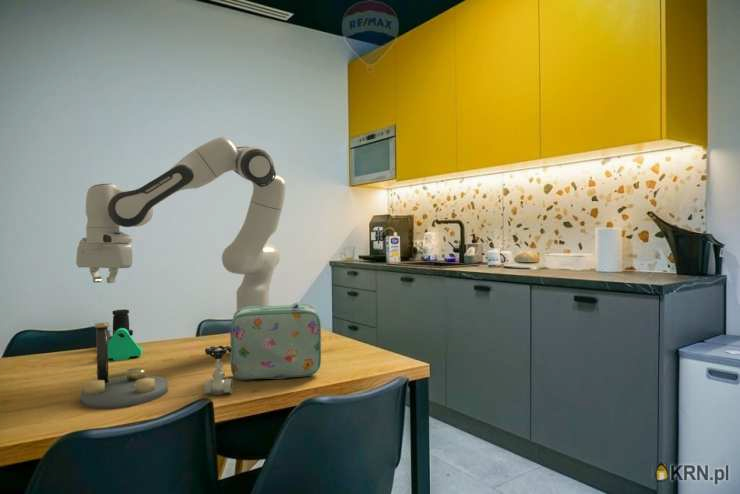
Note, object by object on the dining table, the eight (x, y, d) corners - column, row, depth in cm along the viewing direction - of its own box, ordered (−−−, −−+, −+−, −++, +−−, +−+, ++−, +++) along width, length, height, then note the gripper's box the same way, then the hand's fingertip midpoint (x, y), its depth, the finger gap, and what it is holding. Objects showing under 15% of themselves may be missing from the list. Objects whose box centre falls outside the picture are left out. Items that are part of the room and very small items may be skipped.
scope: (106, 313, 169) (109, 309, 178) (107, 352, 169) (109, 346, 179) (131, 312, 172) (133, 308, 182) (132, 349, 173) (133, 344, 182)
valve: (209, 390, 125) (208, 345, 125) (234, 390, 126) (233, 345, 126) (202, 399, 119) (201, 351, 119) (229, 398, 119) (228, 351, 119)
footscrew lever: (142, 374, 133) (141, 318, 132) (146, 378, 129) (145, 320, 129) (94, 383, 125) (93, 323, 125) (97, 387, 122) (96, 325, 121)
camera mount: (142, 353, 168) (142, 324, 168) (140, 358, 161) (140, 328, 160) (104, 357, 163) (103, 327, 163) (100, 362, 156) (100, 331, 156)
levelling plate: (177, 381, 134) (176, 365, 134) (153, 406, 114) (152, 387, 114) (102, 384, 131) (102, 368, 131) (64, 410, 112) (64, 391, 111)
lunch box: (321, 367, 147) (321, 299, 146) (325, 377, 137) (325, 303, 136) (232, 373, 141) (231, 302, 141) (229, 384, 131) (228, 307, 131)
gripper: (70, 237, 145) (70, 282, 145) (117, 237, 137) (118, 284, 137) (89, 237, 151) (90, 280, 151) (136, 237, 143) (136, 282, 143)
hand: (104, 282), depth 144 cm, fingers open, 5 cm apart
